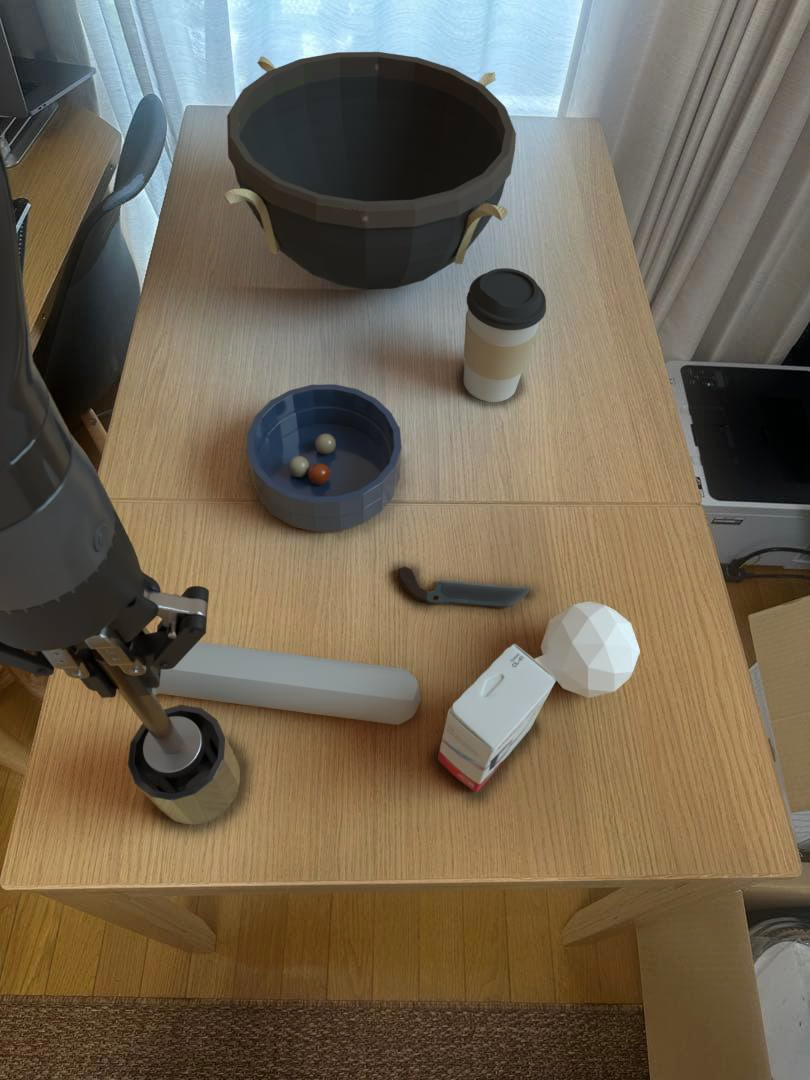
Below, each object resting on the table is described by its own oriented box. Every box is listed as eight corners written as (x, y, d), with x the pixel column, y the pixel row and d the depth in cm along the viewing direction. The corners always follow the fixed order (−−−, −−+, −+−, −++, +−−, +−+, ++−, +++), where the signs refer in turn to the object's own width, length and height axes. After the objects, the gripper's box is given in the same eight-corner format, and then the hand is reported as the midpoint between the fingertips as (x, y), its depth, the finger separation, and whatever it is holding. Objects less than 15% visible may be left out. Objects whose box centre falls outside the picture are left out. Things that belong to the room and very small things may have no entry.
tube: (426, 658, 69) (161, 623, 69) (422, 703, 65) (140, 666, 65) (420, 695, 72) (167, 662, 73) (415, 740, 68) (147, 705, 68)
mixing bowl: (250, 537, 80) (243, 505, 75) (255, 421, 89) (249, 385, 84) (403, 531, 81) (406, 499, 76) (393, 418, 90) (395, 382, 85)
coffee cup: (491, 347, 98) (511, 248, 85) (540, 387, 94) (567, 290, 82) (440, 376, 94) (452, 278, 82) (488, 419, 91) (509, 323, 78)
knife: (395, 601, 76) (395, 598, 76) (398, 568, 79) (398, 565, 78) (530, 613, 76) (531, 610, 76) (529, 579, 79) (531, 576, 78)
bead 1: (282, 475, 83) (293, 465, 81) (285, 459, 84) (296, 448, 82) (301, 484, 84) (312, 474, 82) (304, 468, 85) (314, 457, 84)
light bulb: (597, 596, 76) (491, 640, 74) (628, 580, 67) (508, 630, 65) (635, 675, 74) (527, 722, 73) (671, 670, 65) (550, 724, 64)
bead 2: (312, 452, 86) (314, 451, 84) (316, 432, 86) (317, 430, 84) (333, 456, 87) (334, 455, 84) (336, 436, 86) (338, 434, 84)
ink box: (474, 795, 66) (494, 757, 56) (432, 756, 68) (444, 712, 58) (533, 727, 70) (561, 679, 60) (492, 691, 72) (513, 640, 62)
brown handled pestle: (144, 780, 57) (59, 687, 41) (151, 724, 59) (73, 616, 43) (203, 776, 57) (141, 683, 41) (207, 721, 59) (150, 613, 44)
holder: (150, 828, 64) (122, 803, 56) (159, 741, 68) (134, 707, 60) (238, 822, 64) (221, 797, 57) (242, 736, 68) (227, 702, 61)
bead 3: (325, 473, 81) (337, 470, 83) (310, 460, 81) (322, 457, 84) (315, 490, 82) (327, 487, 84) (300, 477, 83) (313, 474, 85)
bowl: (488, 196, 116) (510, 57, 99) (499, 356, 97) (528, 217, 80) (262, 183, 115) (244, 40, 98) (228, 342, 96) (199, 199, 79)
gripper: (192, 457, 34) (242, 623, 49) (-119, 466, 33) (28, 633, 48) (177, 600, 30) (237, 734, 45) (-176, 615, 29) (3, 748, 44)
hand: (129, 681), depth 46 cm, fingers closed on brown handled pestle
